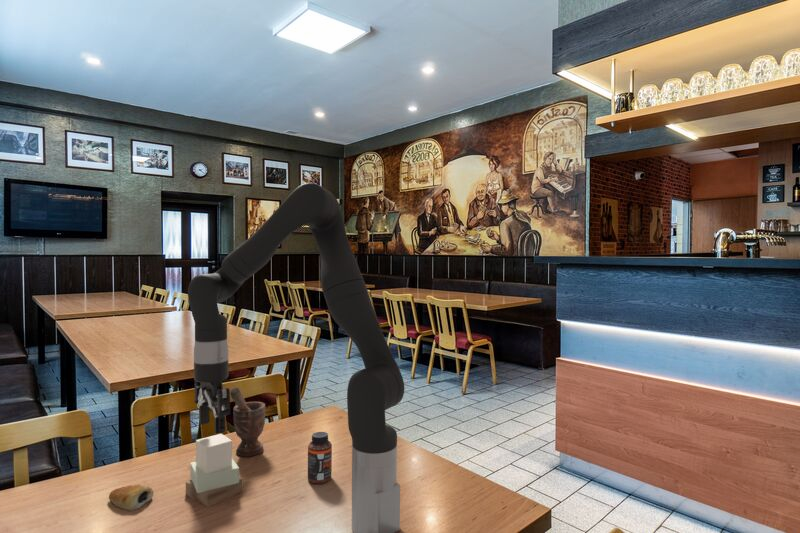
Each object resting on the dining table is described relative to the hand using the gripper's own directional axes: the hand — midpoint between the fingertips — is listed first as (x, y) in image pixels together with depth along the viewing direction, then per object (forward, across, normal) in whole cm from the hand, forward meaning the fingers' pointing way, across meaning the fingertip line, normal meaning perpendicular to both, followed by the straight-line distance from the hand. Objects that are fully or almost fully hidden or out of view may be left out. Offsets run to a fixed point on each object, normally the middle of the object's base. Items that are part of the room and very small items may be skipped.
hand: (211, 427), depth 109 cm
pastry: (+16, +9, +15) cm, 23 cm away
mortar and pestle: (+15, +14, -16) cm, 27 cm away
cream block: (+9, 0, 0) cm, 9 cm away
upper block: (+12, 0, 0) cm, 12 cm away
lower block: (+16, 0, 0) cm, 16 cm away
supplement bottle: (+16, -12, -22) cm, 30 cm away
